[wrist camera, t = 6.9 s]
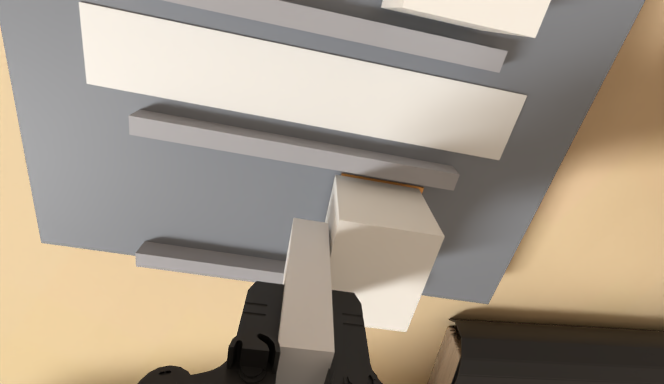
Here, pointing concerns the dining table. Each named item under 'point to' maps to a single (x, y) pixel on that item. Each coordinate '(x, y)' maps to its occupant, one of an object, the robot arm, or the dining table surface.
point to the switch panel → (294, 123)
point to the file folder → (547, 354)
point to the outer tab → (479, 13)
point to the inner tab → (381, 248)
